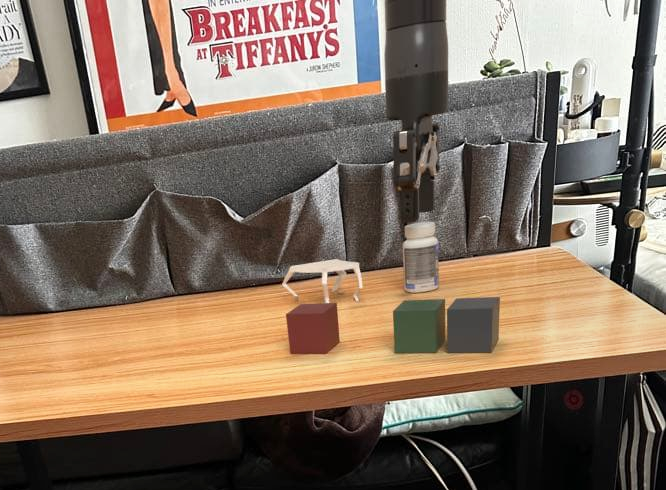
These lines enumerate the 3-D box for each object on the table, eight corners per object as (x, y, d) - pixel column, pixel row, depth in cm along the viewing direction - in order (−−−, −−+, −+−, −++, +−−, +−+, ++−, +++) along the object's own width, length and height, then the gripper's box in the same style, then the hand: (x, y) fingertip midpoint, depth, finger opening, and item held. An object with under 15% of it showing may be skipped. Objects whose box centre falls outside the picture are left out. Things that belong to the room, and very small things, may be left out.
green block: (445, 340, 78) (445, 298, 75) (436, 353, 74) (435, 309, 72) (405, 341, 79) (403, 300, 77) (394, 353, 76) (392, 310, 74)
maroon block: (339, 341, 83) (336, 302, 80) (326, 353, 79) (323, 313, 77) (304, 342, 84) (300, 303, 82) (290, 353, 81) (285, 314, 79)
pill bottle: (444, 289, 98) (444, 222, 94) (411, 295, 98) (409, 228, 94) (430, 283, 102) (429, 219, 98) (398, 289, 102) (396, 225, 98)
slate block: (498, 339, 75) (499, 296, 73) (491, 352, 72) (492, 307, 70) (455, 340, 77) (456, 298, 75) (446, 352, 74) (446, 309, 72)
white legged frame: (368, 289, 105) (366, 253, 102) (363, 302, 98) (361, 264, 95) (287, 296, 107) (283, 262, 105) (277, 310, 100) (272, 273, 98)
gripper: (433, 67, 80) (434, 223, 88) (459, 67, 91) (458, 206, 99) (369, 78, 83) (375, 228, 92) (401, 76, 94) (404, 210, 102)
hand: (418, 216), depth 95 cm, fingers open, 8 cm apart
